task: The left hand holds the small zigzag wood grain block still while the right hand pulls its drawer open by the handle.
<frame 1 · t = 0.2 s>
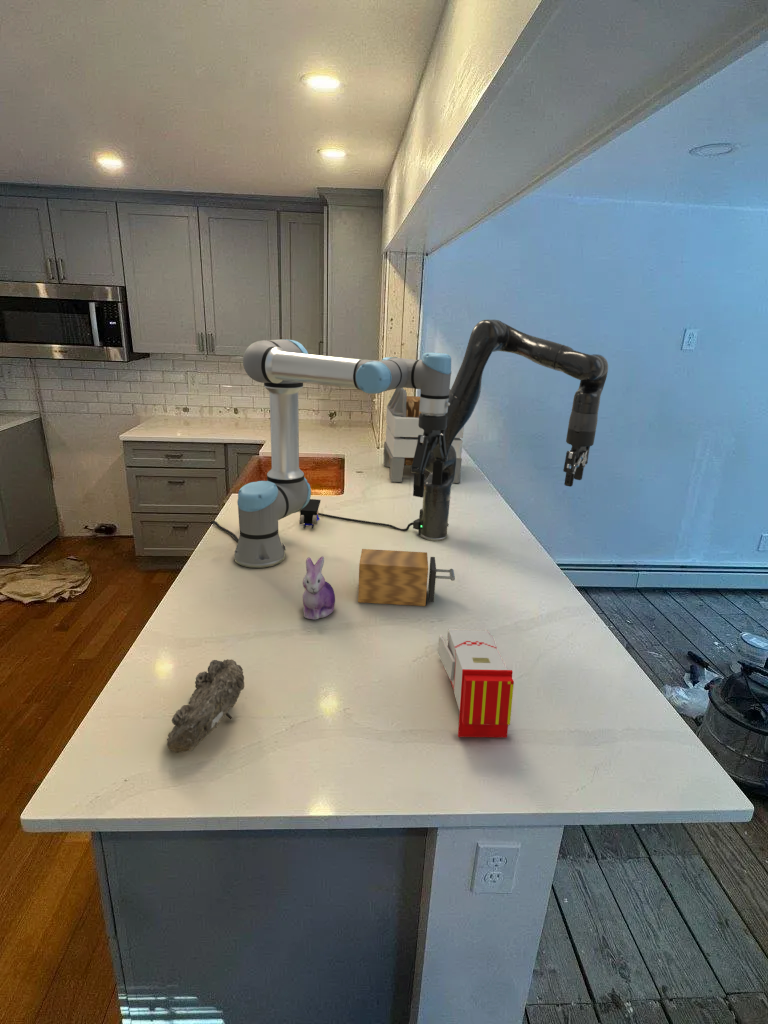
left hand: (427, 490, 157), 28 cm above the counter, tool pointing down, fingers open, 13 cm apart
right hand: (573, 482, 165), 29 cm above the counter, tool pointing down, fingers open, 8 cm apart
figurine character: (310, 524, 205), on the counter
toy: (469, 691, 119), on the counter
fossil: (212, 717, 108), on the counter
zigzag wood grain block: (392, 595, 157), on the counter
drawer: (413, 578, 155), point 6 cm above the counter, slide at 1.0 cm
figurine: (318, 612, 147), on the counter
transformer: (419, 473, 275), on the counter
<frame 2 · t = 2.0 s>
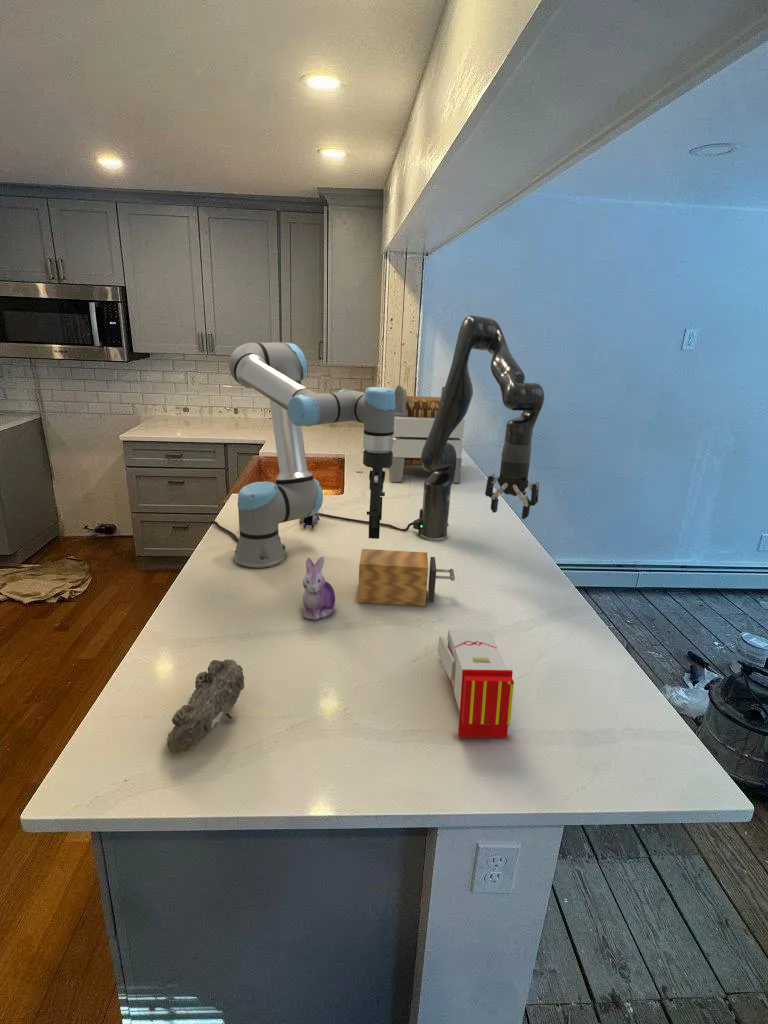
left hand: (375, 528, 150), 20 cm above the counter, tool pointing down, fingers open, 13 cm apart
right hand: (508, 515, 158), 22 cm above the counter, tool pointing down, fingers open, 8 cm apart
nothing on the counter moved.
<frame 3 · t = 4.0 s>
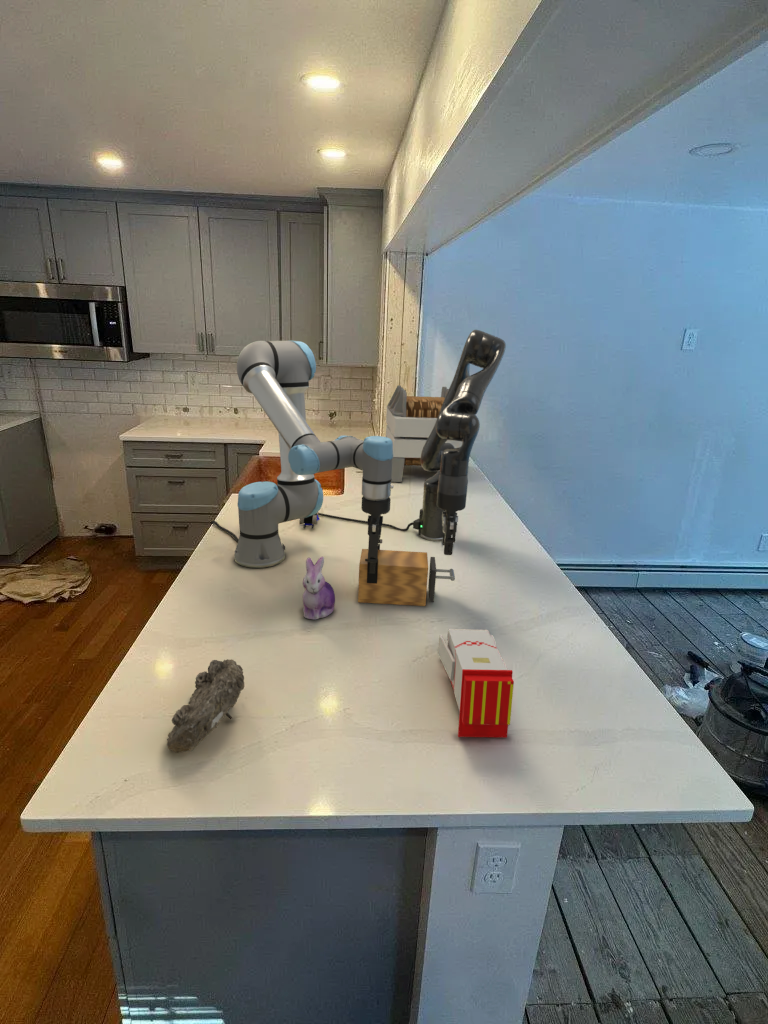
left hand: (373, 573, 155), 6 cm above the counter, tool pointing down, fingers closed on zigzag wood grain block, 10 cm apart
right hand: (447, 549, 152), 15 cm above the counter, tool pointing down, fingers open, 5 cm apart
zigzag wood grain block: (392, 595, 157), on the counter, touching left hand
everything else where it was.
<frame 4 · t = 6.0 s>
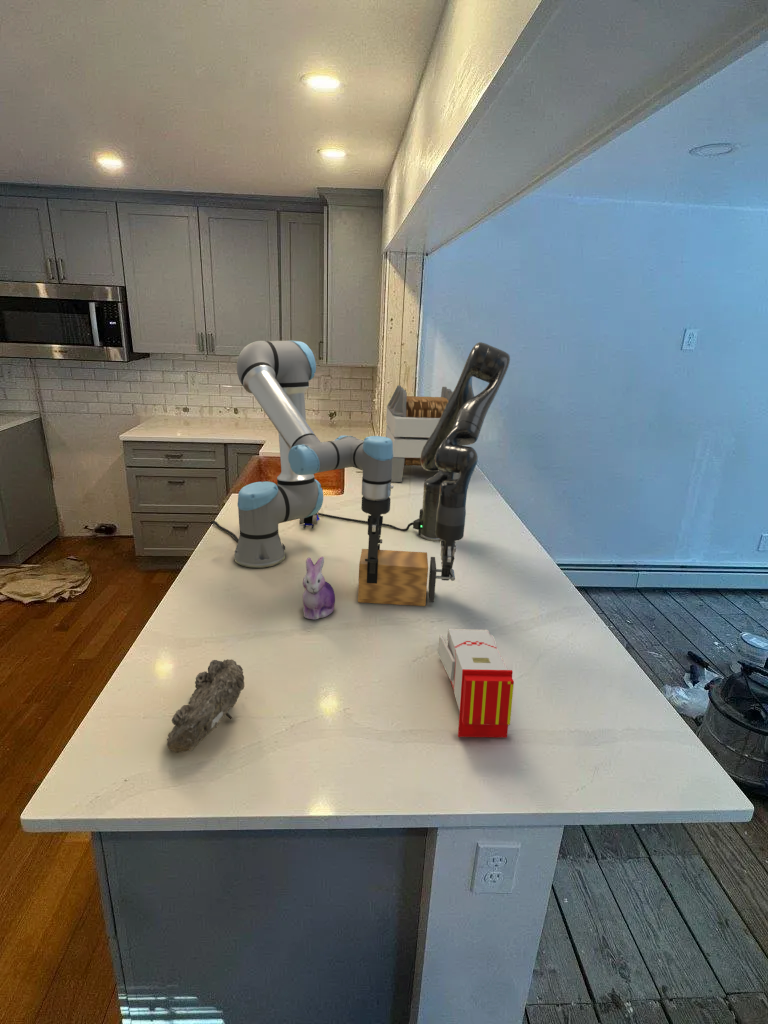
left hand: (373, 573, 155), 6 cm above the counter, tool pointing down, fingers closed on zigzag wood grain block, 10 cm apart
right hand: (445, 579, 155), 6 cm above the counter, tool pointing down, fingers closed
zigzag wood grain block: (392, 595, 157), on the counter, touching left hand
drawer: (413, 578, 155), point 6 cm above the counter, slide at 1.1 cm, touching right hand
everything else where it was.
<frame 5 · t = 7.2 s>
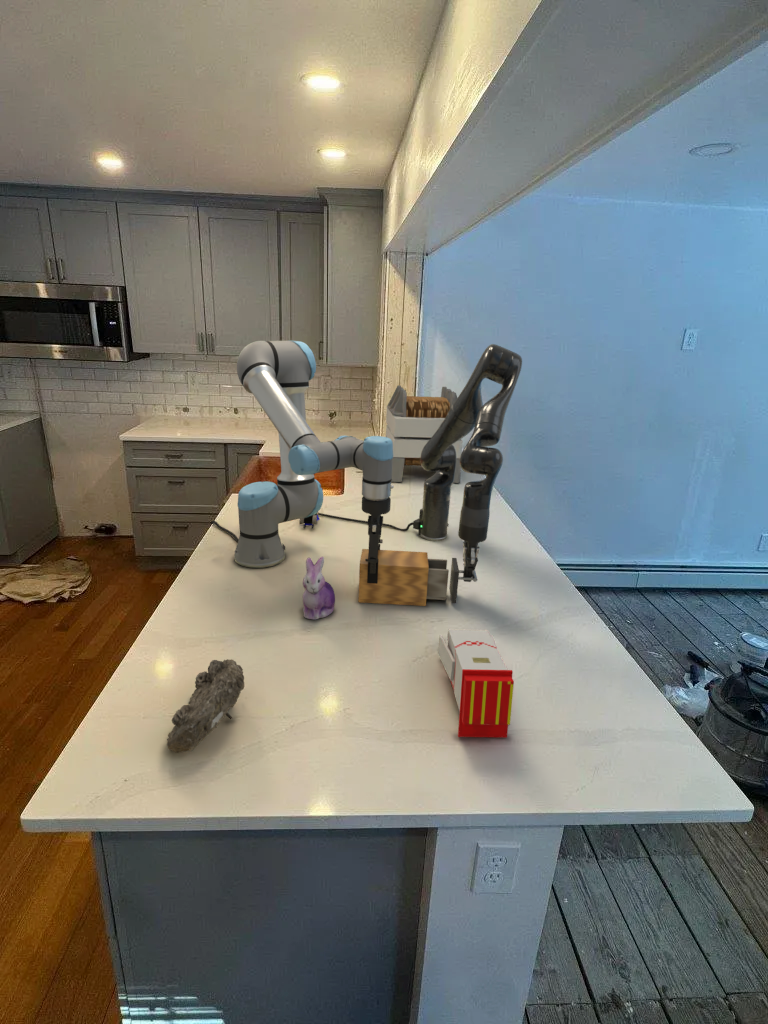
left hand: (373, 573, 155), 6 cm above the counter, tool pointing down, fingers closed on zigzag wood grain block, 10 cm apart
right hand: (467, 580, 155), 6 cm above the counter, tool pointing down, fingers closed
zigzag wood grain block: (392, 595, 157), on the counter, touching left hand
drawer: (435, 579, 155), point 6 cm above the counter, slide at 6.9 cm, touching right hand
everything else where it was.
when the left hand's fingers open (6 cm above the counter, at t = 8.6 s): zigzag wood grain block stays where it is, on the counter.
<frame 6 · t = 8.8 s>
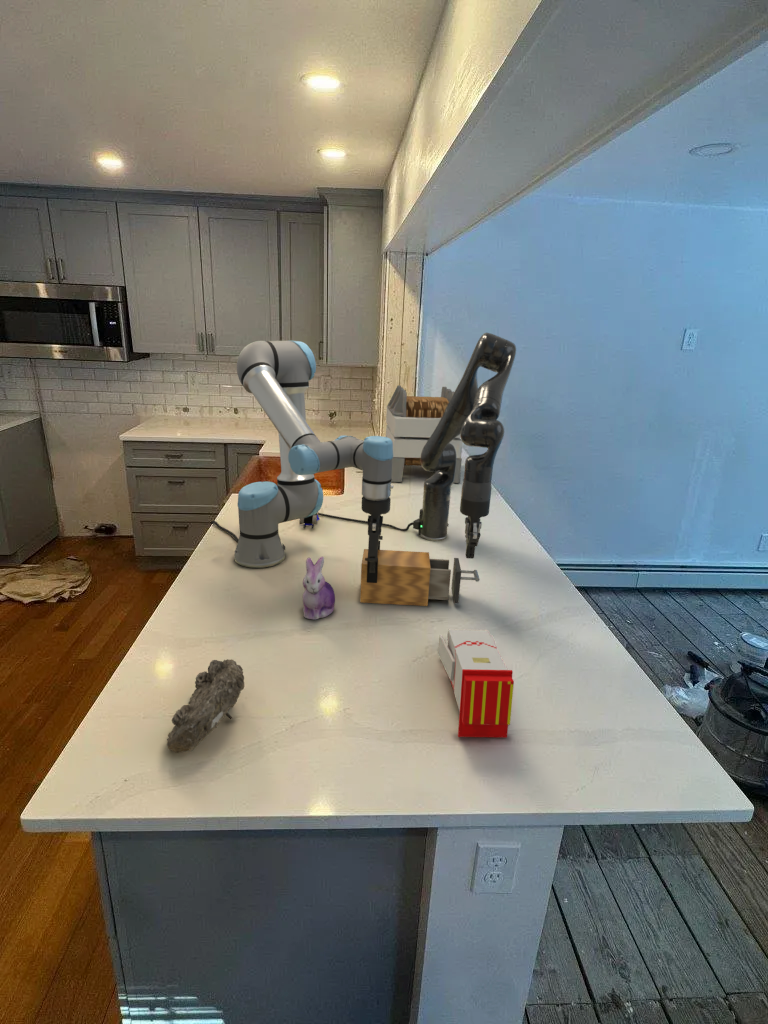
left hand: (373, 571, 155), 7 cm above the counter, tool pointing down, fingers open, 12 cm apart
right hand: (469, 557, 152), 13 cm above the counter, tool pointing down, fingers closed
zigzag wood grain block: (394, 595, 157), on the counter
drawer: (437, 579, 155), point 6 cm above the counter, slide at 7.0 cm
everything else where it was.
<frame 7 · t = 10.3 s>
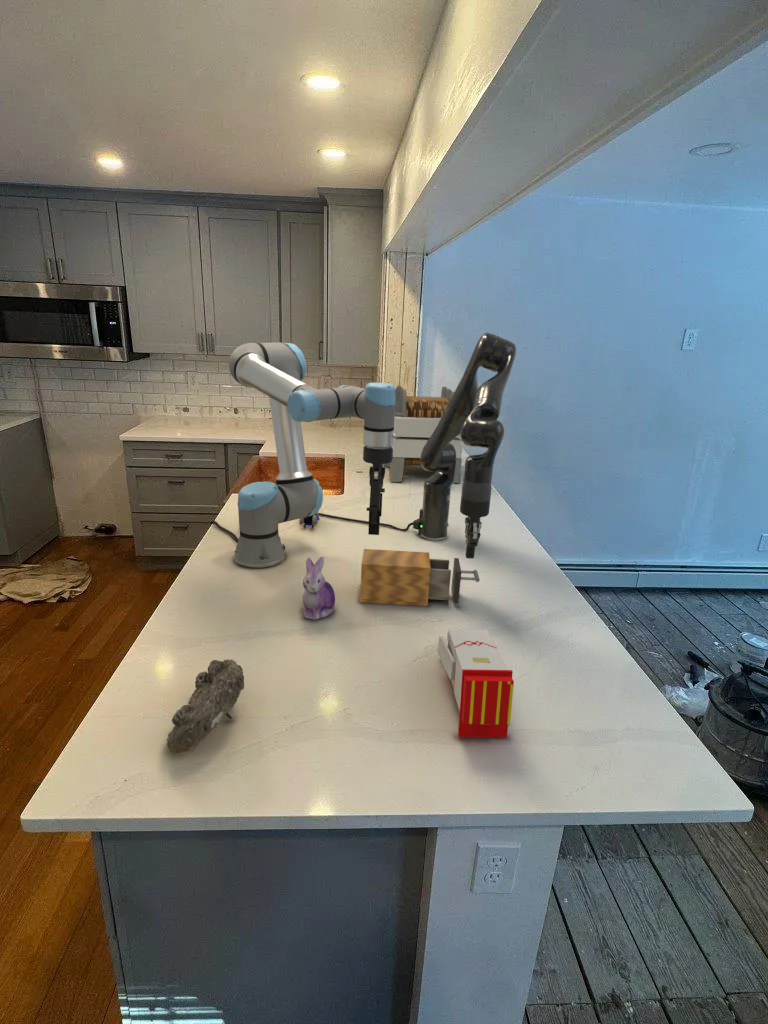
left hand: (375, 524, 150), 21 cm above the counter, tool pointing down, fingers open, 13 cm apart
right hand: (469, 557, 152), 13 cm above the counter, tool pointing down, fingers closed
nothing on the counter moved.
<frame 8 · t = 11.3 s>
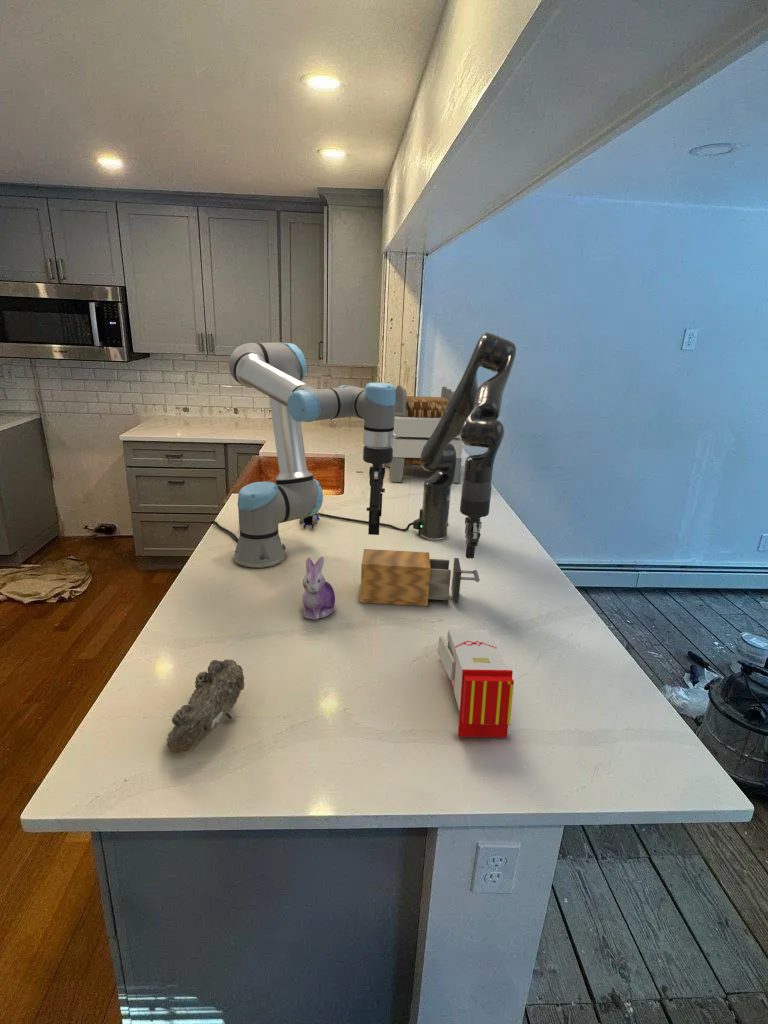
left hand: (375, 524, 150), 21 cm above the counter, tool pointing down, fingers open, 13 cm apart
right hand: (469, 557, 152), 13 cm above the counter, tool pointing down, fingers closed
nothing on the counter moved.
at the end: drawer slide at 7.0 cm; zigzag wood grain block tilted 0°; zigzag wood grain block never tilted more than 3° during the clip; zigzag wood grain block moved 0.6 cm from its start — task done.
